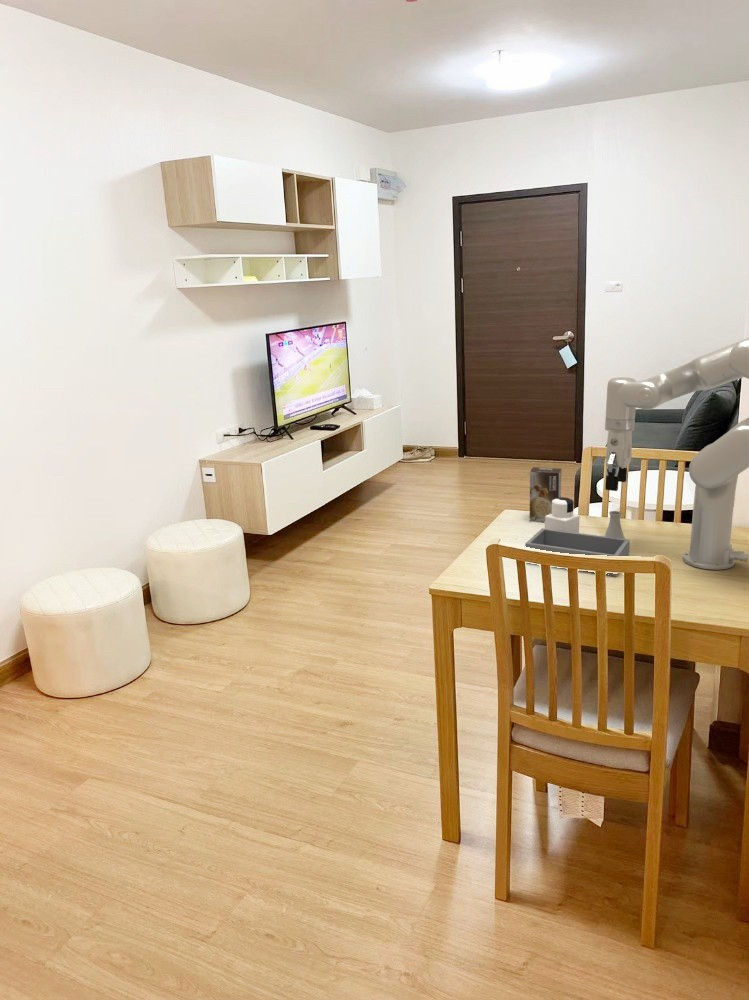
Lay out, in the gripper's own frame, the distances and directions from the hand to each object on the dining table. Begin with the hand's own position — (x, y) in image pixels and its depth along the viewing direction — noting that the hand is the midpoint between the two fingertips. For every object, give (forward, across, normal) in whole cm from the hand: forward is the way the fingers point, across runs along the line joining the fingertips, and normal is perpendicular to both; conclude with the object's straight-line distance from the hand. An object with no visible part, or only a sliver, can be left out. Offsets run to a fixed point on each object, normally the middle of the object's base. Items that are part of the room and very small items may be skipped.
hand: (615, 485), depth 214 cm
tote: (+18, -16, +6) cm, 24 cm away
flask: (+18, 0, 0) cm, 18 cm away
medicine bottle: (+18, 0, +15) cm, 23 cm away
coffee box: (+18, +16, +25) cm, 34 cm away
